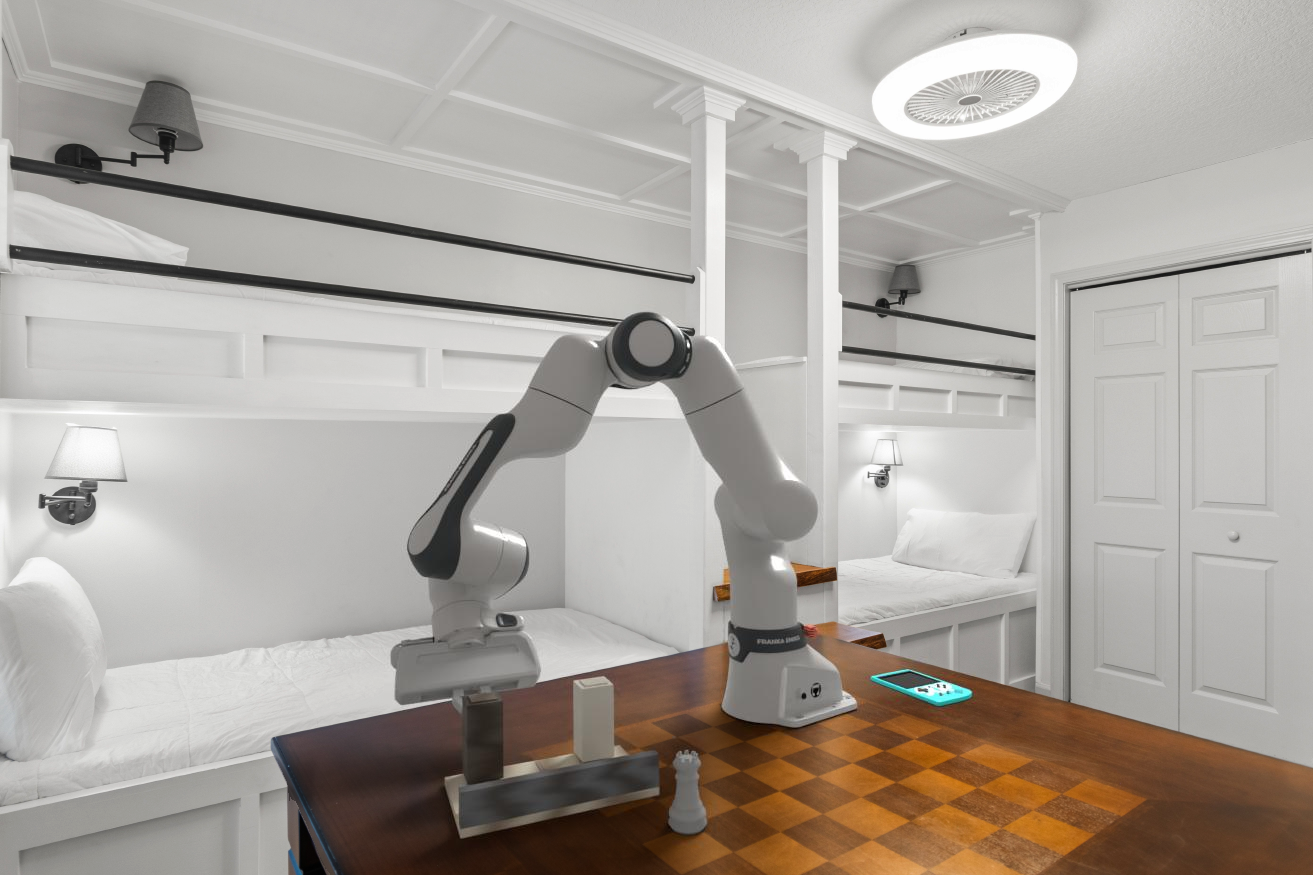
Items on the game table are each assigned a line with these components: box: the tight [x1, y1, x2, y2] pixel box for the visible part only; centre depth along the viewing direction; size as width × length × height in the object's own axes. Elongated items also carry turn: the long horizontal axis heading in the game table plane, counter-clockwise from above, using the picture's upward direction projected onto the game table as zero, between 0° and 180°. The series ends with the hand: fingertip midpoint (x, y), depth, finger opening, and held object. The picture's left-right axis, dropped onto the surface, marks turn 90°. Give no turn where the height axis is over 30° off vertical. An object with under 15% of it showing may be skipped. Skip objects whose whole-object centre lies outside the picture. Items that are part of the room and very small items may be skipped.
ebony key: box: [461, 691, 505, 785], centre depth 91 cm, size 4×4×10 cm
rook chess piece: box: [667, 749, 708, 836], centre depth 80 cm, size 4×4×8 cm
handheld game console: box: [870, 669, 973, 707], centre depth 127 cm, size 10×16×1 cm, turn 27°
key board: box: [444, 744, 660, 839], centre depth 89 cm, size 24×14×5 cm, turn 114°
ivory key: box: [572, 675, 615, 763], centre depth 97 cm, size 4×4×10 cm
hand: (474, 721), depth 97 cm, fingers closed
